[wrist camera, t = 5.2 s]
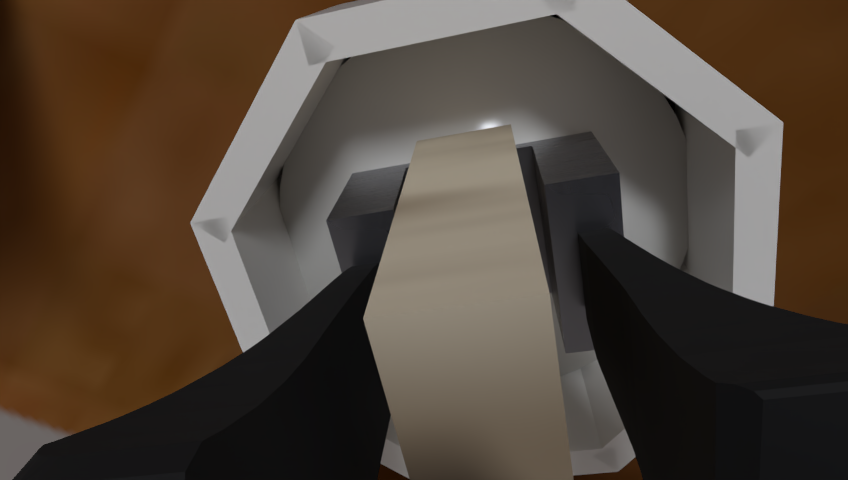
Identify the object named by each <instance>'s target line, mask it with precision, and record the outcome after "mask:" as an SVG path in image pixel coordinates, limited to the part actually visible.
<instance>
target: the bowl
mask: <svg viewBox="0 0 848 480" xmlns="http://www.w3.org/2000/svg"><path fill="white" fill-rule="evenodd" d="M553 15H557V16H558V17H556V16H553ZM349 57H351V58H350V59H349V60H347V59H348V58H349ZM664 96H665V97H666V98H668V99H669V100H670V101H672V102H673V103H674V104H675V113H674V111H673V110H672V108H671V106H670V105H669V103H668V102H667V100H666V98H665V97H664ZM510 124H511V128H512V132H513V136H514V141H515V145H516V144H522V143H528V142H533V141H539V140H545V139H550V138H556V137H562V136H567V135H573V134H579V133H585V132H590V131H591V132H592V133H593V135H594V136H595V137H596V139H597V140H598V142H599V143H600V145H601V146H602V148H603V149H604V151H605V152H606V154H607V155H608V156H609V158H610V159H611V161H612V162H613V164H614V165H615V167H616V168H617V170H618V171H619V173H620V187H621V202H622V217H623V231H624V237H625V238H627V239H628V240H630V241H631V242H633V243H634V244H636V245H638V246H639V247H641V248H643V249H644V250H646V251H647V252H649V253H651V254H653V255H654V256H656V257H658V258H659V259H661V260H663V261H665V262H667V263H668V264H670V265H672V266H674V267H676V268H678V269H680V270H682V271H684V272H686V273H688V274H690V275H692V276H694V277H696V278H698V279H700V280H702V281H705V282H707V283H709V284H711V285H714V286H716V287H719V288H721V289H724V290H726V291H729V292H732V293H735V294H737V295H740V296H743V297H745V298H748V299H751V300H754V301H757V302H760V303H763V304H766V305H769V306H773V307H774V289H775V270H776V251H777V232H778V213H779V194H780V175H781V156H782V137H783V122H782V121H781V120H780V119H778V118H777V117H776V116H774V115H773V114H772V113H771V112H769V111H768V110H767V109H765V108H764V107H763V106H761V105H760V104H759V103H758V102H756V101H755V100H754V99H752V98H751V97H750V96H749V95H747V94H746V93H745V92H743V91H742V90H741V89H740V88H738V87H737V86H736V85H734V84H733V83H732V82H731V81H729V80H728V79H727V78H725V77H724V76H723V75H721V74H720V73H719V72H718V71H716V70H715V69H714V68H712V67H711V66H710V65H709V64H707V63H706V62H705V61H703V60H702V59H701V58H700V57H698V56H697V55H696V54H694V53H693V52H692V51H690V50H689V49H688V48H687V47H685V46H684V45H683V44H681V43H680V42H679V41H678V40H676V39H675V38H674V37H672V36H671V35H670V34H669V33H667V32H666V31H665V30H663V29H662V28H661V27H659V26H658V25H657V24H656V23H654V22H653V21H652V20H650V19H649V18H648V17H647V16H645V15H644V14H643V13H641V12H640V11H639V10H638V9H636V8H635V7H634V6H632V5H631V4H630V3H628V2H627V1H626V0H358V1H353V2H349V3H344V4H340V5H336V6H333V7H331V8H328V9H325V10H322V11H319V12H317V13H314V14H311V15H308V16H305V17H302V18H300V19H297V20H295V22H294V24H293V26H292V28H291V30H290V32H289V34H288V36H287V38H286V40H285V42H284V43H283V45H282V47H281V49H280V51H279V53H278V55H277V57H276V59H275V61H274V63H273V65H272V67H271V69H270V70H269V72H268V74H267V76H266V78H265V80H264V82H263V84H262V86H261V88H260V90H259V92H258V94H257V95H256V97H255V99H254V101H253V103H252V105H251V107H250V109H249V111H248V113H247V115H246V117H245V119H244V120H243V122H242V124H241V126H240V128H239V130H238V132H237V134H236V136H235V138H234V140H233V142H232V144H231V145H230V147H229V149H228V151H227V153H226V155H225V157H224V159H223V161H222V163H221V165H220V167H219V169H218V171H217V172H216V174H215V176H214V178H213V180H212V182H211V184H210V186H209V188H208V190H207V192H206V194H205V196H204V197H203V199H202V201H201V203H200V205H199V207H198V209H197V211H196V213H195V215H194V217H193V219H192V221H191V222H190V224H191V226H192V228H193V231H194V233H195V236H196V238H197V241H198V243H199V246H200V248H201V251H202V253H203V255H204V258H205V260H206V263H207V265H208V268H209V270H210V273H211V275H212V278H213V280H214V282H215V285H216V287H217V290H218V292H219V295H220V297H221V300H222V302H223V305H224V307H225V309H226V312H227V314H228V317H229V319H230V322H231V324H232V327H233V329H234V332H235V334H236V336H237V339H238V341H239V344H240V346H241V349H242V351H243V352H245V351H246V350H248V349H249V348H251V347H252V346H254V345H255V344H257V343H258V342H259V341H261V340H262V339H263V338H265V337H266V336H268V335H269V334H270V333H271V332H273V331H274V330H275V329H276V328H278V327H279V326H280V325H281V324H283V323H284V322H285V321H286V320H288V319H289V318H290V317H291V316H293V315H294V314H295V313H296V312H298V311H299V310H300V309H301V308H302V307H303V306H305V305H306V304H307V303H308V302H309V301H310V300H311V299H313V298H314V297H315V296H316V295H317V294H318V293H319V292H321V291H322V290H323V289H324V288H325V287H326V286H327V285H328V284H330V283H331V282H332V281H333V280H334V279H335V278H337V277H338V276H339V275H340V274H341V273H342V272H341V269H340V265H339V262H338V259H337V255H336V252H335V249H334V246H333V242H332V239H331V236H330V232H329V229H328V226H327V222H326V220H327V218H328V216H329V214H330V213H331V211H332V209H333V207H334V205H335V204H336V202H337V200H338V198H339V196H340V195H341V193H342V191H343V189H344V187H345V186H346V184H347V182H348V180H349V178H350V177H351V175H352V173H357V172H363V171H368V170H374V169H380V168H385V167H391V166H397V165H402V164H408V163H410V162H411V158H412V155H413V152H414V149H415V145H416V142H417V141H420V140H425V139H431V138H436V137H442V136H448V135H453V134H459V133H465V132H470V131H476V130H481V129H487V128H493V127H498V126H504V125H510ZM281 174H282V175H281ZM550 300H551V308H552V316H553V324H554V331H555V339H556V347H557V355H558V362H559V370H560V378H561V386H562V393H563V401H564V409H565V417H566V425H567V432H568V440H569V448H570V456H571V463H572V471H573V476H574V475H585V474H597V473H608V472H618V471H619V470H621V469H622V468H623V467H624V466H625V465H626V464H628V463H629V462H630V461H631V460H632V459H634V458H635V457H636V456H635V453H634V450H633V447H632V445H631V442H630V440H629V438H628V435H627V433H626V430H625V428H624V425H623V423H622V420H621V418H620V415H619V413H618V410H617V408H616V406H615V403H614V401H613V398H612V396H611V393H610V391H609V388H608V386H607V383H606V381H605V378H604V376H603V373H602V371H601V368H600V366H599V363H598V361H597V358H596V354H595V350H591V351H583V352H574V353H565V349H564V344H563V340H562V336H561V332H560V327H559V323H558V319H557V315H556V310H555V306H554V302H553V298H552V293H550ZM380 464H382V465H384V466H386V467H388V468H390V469H392V470H394V471H395V472H397V473H399V474H401V475H403V476H405V477H407V478H409V475H408V472H407V468H406V465H405V462H404V458H403V455H402V451H401V448H400V444H399V441H398V437H397V434H396V430H395V427H394V424H393V420H392V417H390V422H389V426H388V431H387V435H386V440H385V445H384V449H383V454H382V458H381V463H380Z"/></svg>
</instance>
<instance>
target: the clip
mask: <svg viewBox="0 0 848 480" xmlns="http://www.w3.org/2000/svg"><path fill="white" fill-rule="evenodd" d="M516 150H517V154H518V158H519V163H520V167H521V171H522V176H523V180H524V184H525V189H526V193H527V197H528V202H529V206H530V210H531V215H532V219H533V224H534V228H535V232H536V237H537V241H538V245H539V250H540V254H541V258H542V263H543V267H544V271H545V276H546V280H547V284H548V289H549V293H552V298H553V302H554V306H555V310H556V315H557V319H558V323H559V327H560V332H561V336H562V340H563V344H564V349H565V353H574V352H583V351H591V350H594V346H593V343H592V339H591V335H590V331H589V327H588V323H587V319H586V309H585V300H584V290H583V281H582V271H581V262H580V252H579V243H578V233H577V232H584V231H591V230H597V229H604V228H610V229H612V230H614V231H615V232H617V233H619V234H620V235H622V236H623V237H624V231H623V217H622V202H621V187H620V173H619V171H618V170H617V168H616V167H615V165H614V164H613V162H612V161H611V159H610V158H609V156H608V155H607V154H606V152H605V151H604V149H603V148H602V146H601V145H600V143H599V142H598V140H597V139H596V137H595V136H594V135H593V133H592V132H591V131H590V132H585V133H579V134H573V135H567V136H562V137H556V138H550V139H545V140H539V141H533V142H528V143H522V144H516ZM409 165H410V163H408V164H402V165H397V166H391V167H385V168H380V169H374V170H368V171H363V172H357V173H352V175H351V177H350V178H349V180H348V182H347V184H346V186H345V187H344V189H343V191H342V193H341V195H340V196H339V198H338V200H337V202H336V204H335V205H334V207H333V209H332V211H331V213H330V214H329V216H328V218H327V220H326V222H327V226H328V229H329V232H330V236H331V239H332V242H333V246H334V249H335V252H336V255H337V259H338V262H339V265H340V269H341V272H342V273H343V272H344V271H345V270H347V269H348V268H350V267H351V266H358V265H364V264H371V263H378V262H379V264H380V261H381V258H382V254H383V251H384V248H385V244H386V241H387V238H388V234H389V231H390V228H391V225H392V221H393V218H394V215H395V211H396V208H397V205H398V201H399V198H400V195H401V191H402V188H403V185H404V182H405V178H406V175H407V172H408V168H409Z"/></svg>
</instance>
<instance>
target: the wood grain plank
mask: <svg viewBox="0 0 848 480" xmlns="http://www.w3.org/2000/svg"><path fill="white" fill-rule="evenodd" d="M363 320H364V323H365V327H366V330H367V334H368V337H369V341H370V344H371V348H372V351H373V355H374V358H375V361H376V365H377V368H378V372H379V375H380V379H381V382H382V386H383V389H384V393H385V396H386V399H387V403H388V406H389V410H390V413H391V417H392V420H393V424H394V427H395V430H396V434H397V437H398V441H399V444H400V448H401V451H402V455H403V458H404V462H405V465H406V468H407V472H408V475H409V479H410V480H574V479H573V471H572V463H571V456H570V448H569V440H568V432H567V425H566V417H565V409H564V401H563V393H562V386H561V378H560V370H559V362H558V355H557V347H556V339H555V331H554V324H553V316H552V308H551V300H550V293H549V289H548V284H547V280H546V276H545V271H544V267H543V263H542V258H541V254H540V250H539V245H538V241H537V237H536V232H535V228H534V224H533V219H532V215H531V210H530V206H529V202H528V197H527V193H526V189H525V184H524V180H523V176H522V171H521V167H520V163H519V158H518V154H517V150H516V145H515V141H514V136H513V132H512V128H511V124H510V125H504V126H498V127H493V128H487V129H481V130H476V131H470V132H465V133H459V134H453V135H448V136H442V137H436V138H431V139H425V140H420V141H417V142H416V145H415V149H414V152H413V155H412V158H411V162H410V165H409V168H408V172H407V175H406V178H405V182H404V185H403V188H402V191H401V195H400V198H399V201H398V205H397V208H396V211H395V215H394V218H393V221H392V225H391V228H390V231H389V234H388V238H387V241H386V244H385V248H384V251H383V254H382V258H381V261H380V264H379V267H378V271H377V274H376V277H375V281H374V284H373V287H372V291H371V294H370V297H369V301H368V304H367V307H366V310H365V314H364V317H363Z"/></svg>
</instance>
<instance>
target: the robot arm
mask: <svg viewBox="0 0 848 480" xmlns="http://www.w3.org/2000/svg"><path fill="white" fill-rule="evenodd" d="M577 233H578V243H579V252H580V262H581V271H582V281H583V290H584V300H585V309H586V319H587V323H588V327H589V331H590V335H591V339H592V343H593V346H594V350H595V354H596V358H597V361H598V363H599V366H600V368H601V371H602V373H603V376H604V378H605V381H606V383H607V386H608V388H609V391H610V393H611V396H612V398H613V401H614V403H615V406H616V408H617V410H618V413H619V415H620V418H621V420H622V423H623V425H624V428H625V430H626V433H627V435H628V438H629V440H630V442H631V445H632V447H633V450H634V453H635V456H636V459H637V461H638V464H639V467H640V470H641V473H642V477H643V480H848V324H842V323H837V322H832V321H828V320H823V319H819V318H814V317H810V316H806V315H802V314H798V313H795V312H791V311H788V310H784V309H780V308H777V307H773V306H769V305H766V304H763V303H760V302H757V301H754V300H751V299H748V298H745V297H743V296H740V295H737V294H735V293H732V292H729V291H726V290H724V289H721V288H719V287H716V286H714V285H711V284H709V283H707V282H705V281H702V280H700V279H698V278H696V277H694V276H692V275H690V274H688V273H686V272H684V271H682V270H680V269H678V268H676V267H674V266H672V265H670V264H668V263H667V262H665V261H663V260H661V259H659V258H658V257H656V256H654V255H653V254H651V253H649V252H647V251H646V250H644V249H643V248H641V247H639V246H638V245H636V244H634V243H633V242H631V241H630V240H628V239H627V238H625V237H623V236H622V235H620V234H619V233H617V232H615V231H614V230H612V229H610V228H604V229H597V230H591V231H584V232H577ZM378 267H379V262H378V263H371V264H364V265H358V266H351V267H350V268H348V269H347V270H345V271H344V272H343V273H341V274H340V275H339V276H338V277H337V278H335V279H334V280H333V281H332V282H331V283H330V284H328V285H327V286H326V287H325V288H324V289H323V290H322V291H321V292H319V293H318V294H317V295H316V296H315V297H314V298H313V299H311V300H310V301H309V302H308V303H307V304H306V305H305V306H303V307H302V308H301V309H300V310H299V311H298V312H296V313H295V314H294V315H293V316H291V317H290V318H289V319H288V320H286V321H285V322H284V323H283V324H281V325H280V326H279V327H278V328H276V329H275V330H274V331H273V332H271V333H270V334H269V335H268V336H266V337H265V338H263V339H262V340H261V341H259V342H258V343H257V344H255V345H254V346H252V347H251V348H249V349H248V350H246V351H245V352H243V353H242V354H240V355H239V356H237V357H236V358H234V359H233V360H231V361H230V362H228V363H226V364H225V365H223V366H221V367H220V368H218V369H216V370H214V371H213V372H211V373H209V374H207V375H205V376H204V377H202V378H200V379H198V380H196V381H194V382H193V383H191V384H189V385H187V386H185V387H184V388H182V389H180V390H178V391H176V392H174V393H172V394H170V395H168V396H166V397H164V398H161V399H159V400H157V401H155V402H153V403H151V404H149V405H146V406H144V407H142V408H140V409H137V410H135V411H133V412H130V413H128V414H126V415H123V416H121V417H119V418H116V419H114V420H111V421H109V422H106V423H103V424H101V425H98V426H95V427H92V428H90V429H87V430H84V431H82V432H79V433H76V434H73V435H71V436H68V437H65V438H62V439H60V440H57V441H54V442H51V443H48V444H45V445H43V446H42V447H41V448H40V449H39V450H38V451H37V452H36V453H35V454H34V456H33V457H32V458H31V459H30V461H28V463H27V464H26V465H25V466H24V467H23V468H22V469H21V471H20V472H19V473H18V474H17V475H16V476H15V477H14V479H13V480H377V478H378V472H379V467H380V463H381V458H382V454H383V449H384V445H385V440H386V435H387V431H388V426H389V422H390V417H391V413H390V410H389V406H388V403H387V399H386V396H385V393H384V389H383V386H382V382H381V379H380V375H379V372H378V368H377V365H376V361H375V358H374V355H373V351H372V348H371V344H370V341H369V337H368V334H367V330H366V327H365V323H364V320H363V317H364V314H365V310H366V307H367V304H368V301H369V297H370V294H371V291H372V287H373V284H374V281H375V277H376V274H377V271H378Z"/></svg>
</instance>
